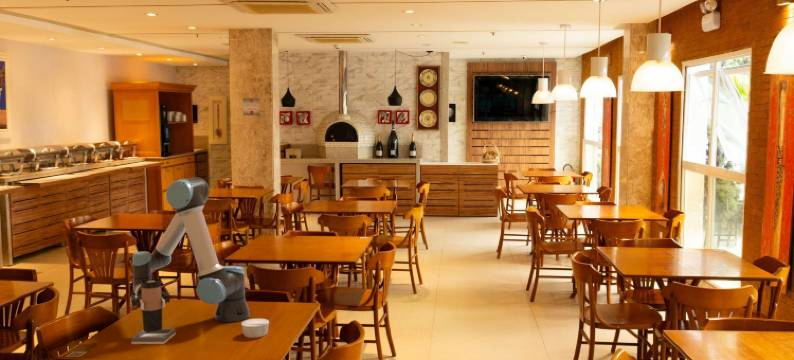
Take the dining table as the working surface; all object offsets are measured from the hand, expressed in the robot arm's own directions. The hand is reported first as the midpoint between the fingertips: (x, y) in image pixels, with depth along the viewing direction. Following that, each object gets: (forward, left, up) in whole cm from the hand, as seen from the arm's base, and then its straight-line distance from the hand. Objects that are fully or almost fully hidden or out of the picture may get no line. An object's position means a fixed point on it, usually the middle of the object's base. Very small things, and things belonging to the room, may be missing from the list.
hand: (153, 305), depth 289 cm
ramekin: (-38, -10, -15) cm, 42 cm away
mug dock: (+2, -4, -15) cm, 16 cm away
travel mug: (+3, -4, -11) cm, 12 cm away
